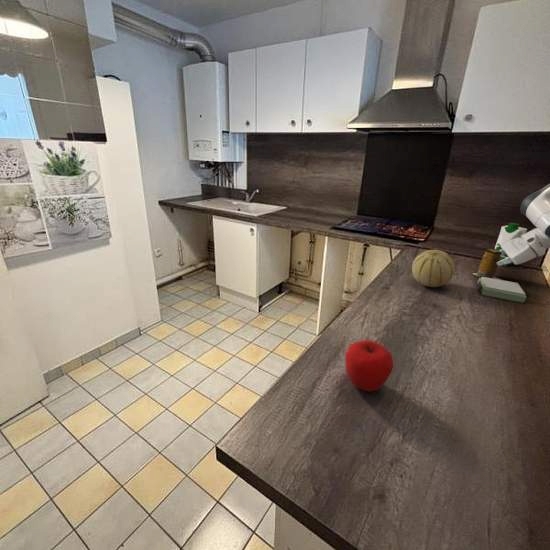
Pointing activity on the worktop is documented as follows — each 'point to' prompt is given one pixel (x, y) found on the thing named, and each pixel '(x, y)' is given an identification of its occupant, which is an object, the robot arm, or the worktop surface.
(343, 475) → the worktop surface
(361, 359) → the apple
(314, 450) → the worktop surface
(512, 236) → the milk carton
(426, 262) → the cantaloupe
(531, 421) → the worktop surface
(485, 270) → the condiment
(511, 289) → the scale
